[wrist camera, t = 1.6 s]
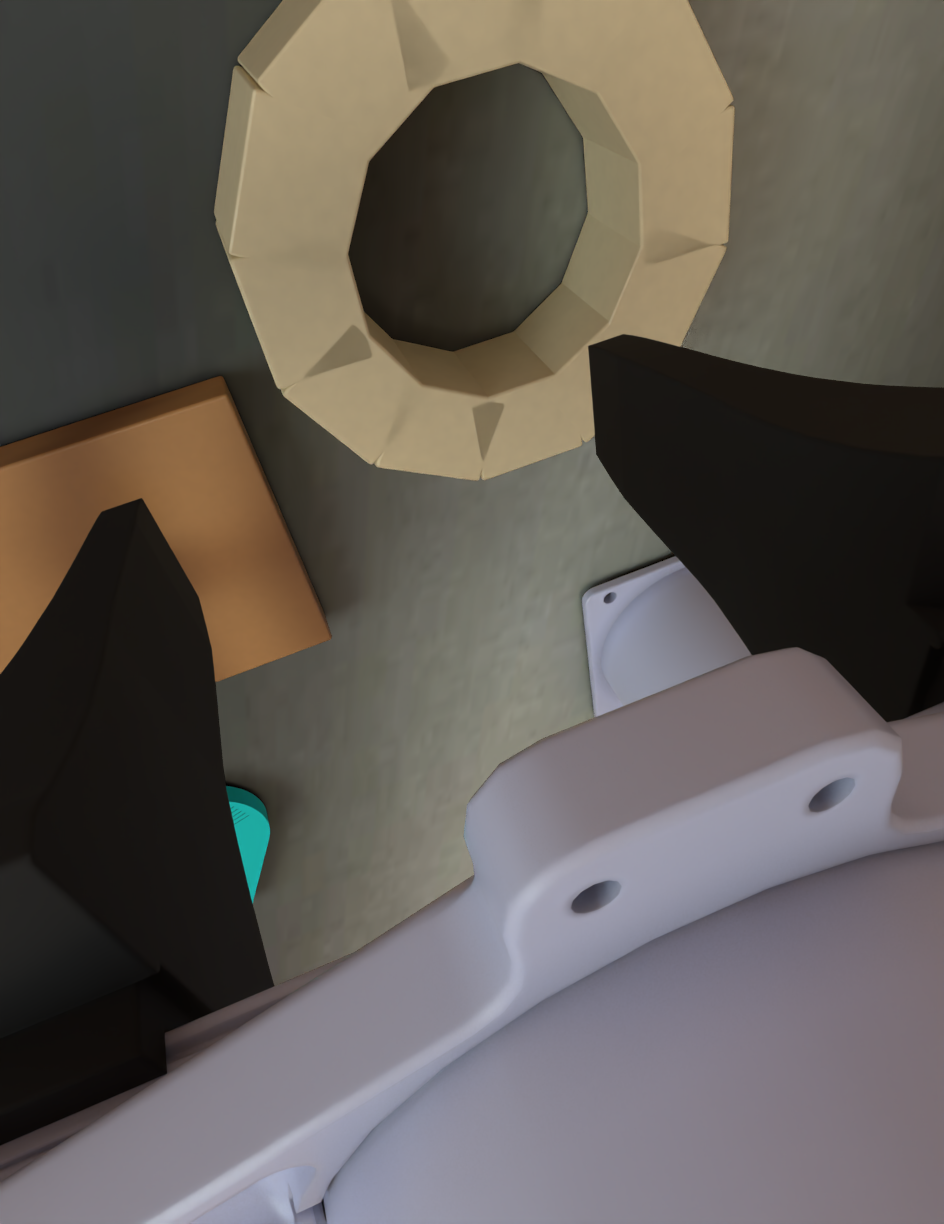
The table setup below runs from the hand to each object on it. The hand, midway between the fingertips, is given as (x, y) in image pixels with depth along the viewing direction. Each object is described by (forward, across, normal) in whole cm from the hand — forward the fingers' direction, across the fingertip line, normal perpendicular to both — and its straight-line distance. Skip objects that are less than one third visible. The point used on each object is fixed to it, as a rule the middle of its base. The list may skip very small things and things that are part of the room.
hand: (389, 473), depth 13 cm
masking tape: (+10, -5, 0) cm, 11 cm away
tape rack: (+10, +7, +6) cm, 14 cm away
